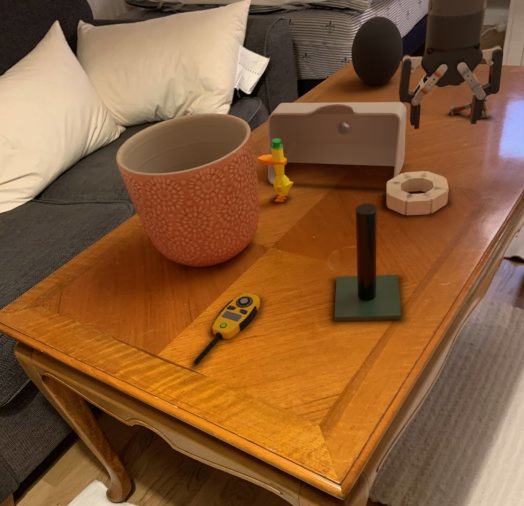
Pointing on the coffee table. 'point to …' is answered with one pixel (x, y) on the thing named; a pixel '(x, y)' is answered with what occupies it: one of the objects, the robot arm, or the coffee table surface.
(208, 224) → the planter
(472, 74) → the robot arm
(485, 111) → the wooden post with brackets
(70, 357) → the coffee table surface
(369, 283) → the peg stand
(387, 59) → the decorative egg
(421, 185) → the ring
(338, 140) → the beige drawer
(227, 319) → the yellow handheld probe meter
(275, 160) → the toy figure
